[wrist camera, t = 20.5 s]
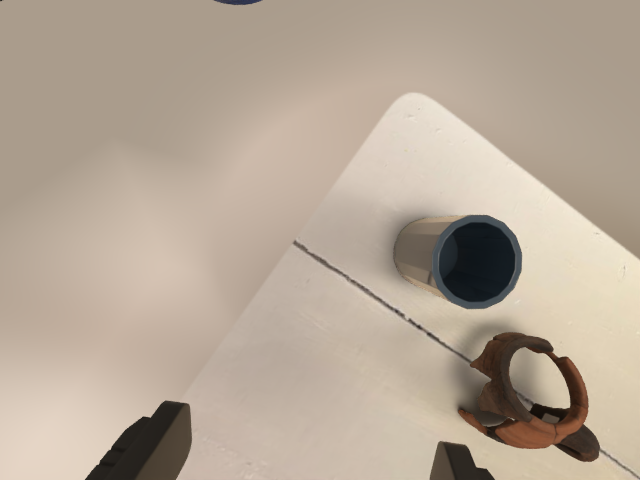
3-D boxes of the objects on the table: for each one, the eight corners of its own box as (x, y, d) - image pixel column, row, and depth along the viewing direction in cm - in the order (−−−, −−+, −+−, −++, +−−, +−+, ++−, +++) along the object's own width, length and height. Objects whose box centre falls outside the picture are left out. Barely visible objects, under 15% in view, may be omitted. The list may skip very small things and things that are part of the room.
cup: (392, 286, 28) (430, 309, 20) (394, 218, 28) (433, 214, 20) (458, 286, 29) (520, 308, 21) (460, 218, 29) (523, 215, 21)
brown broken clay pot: (426, 402, 30) (475, 402, 22) (459, 323, 34) (510, 301, 27) (541, 487, 28) (636, 516, 20) (561, 391, 32) (646, 388, 25)
